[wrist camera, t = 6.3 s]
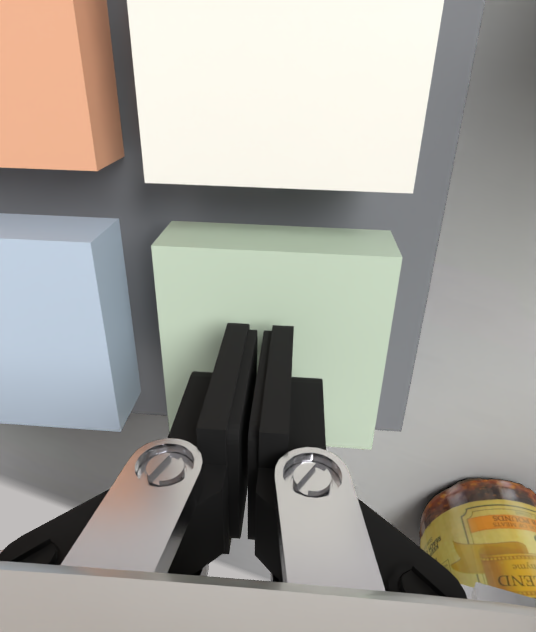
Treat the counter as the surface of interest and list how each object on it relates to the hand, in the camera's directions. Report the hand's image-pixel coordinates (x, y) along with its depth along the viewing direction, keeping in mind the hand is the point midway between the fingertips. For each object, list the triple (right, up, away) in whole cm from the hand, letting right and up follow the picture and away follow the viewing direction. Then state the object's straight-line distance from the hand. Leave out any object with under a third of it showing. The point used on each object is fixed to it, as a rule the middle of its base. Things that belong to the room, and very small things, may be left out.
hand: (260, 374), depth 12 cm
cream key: (+1, +8, -1) cm, 8 cm away
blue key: (-7, +2, +3) cm, 8 cm away
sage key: (0, +1, +2) cm, 3 cm away
